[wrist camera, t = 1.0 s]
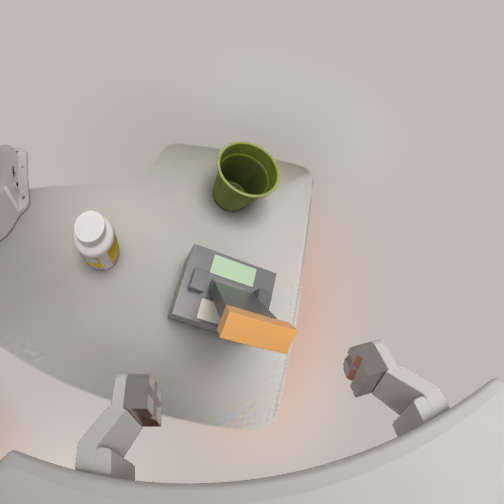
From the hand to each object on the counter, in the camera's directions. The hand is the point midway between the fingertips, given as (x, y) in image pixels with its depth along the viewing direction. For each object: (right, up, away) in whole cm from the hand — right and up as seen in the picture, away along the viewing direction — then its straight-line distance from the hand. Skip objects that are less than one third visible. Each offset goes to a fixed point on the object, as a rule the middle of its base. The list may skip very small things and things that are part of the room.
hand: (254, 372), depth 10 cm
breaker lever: (-3, -1, +29) cm, 29 cm away
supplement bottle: (-27, +5, +33) cm, 43 cm away
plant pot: (-5, +16, +46) cm, 49 cm away
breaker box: (-7, -4, +38) cm, 39 cm away
